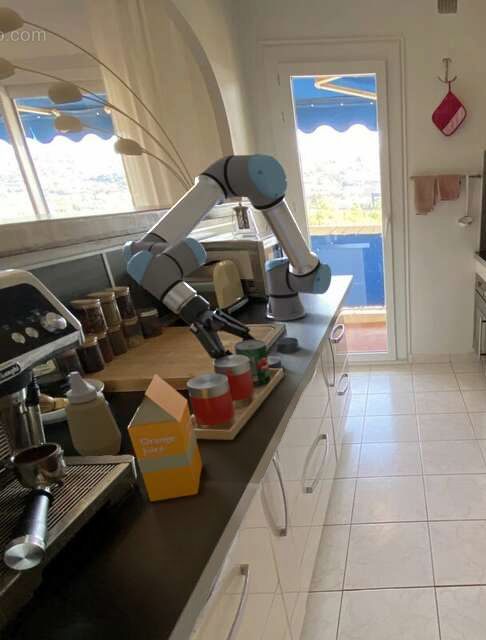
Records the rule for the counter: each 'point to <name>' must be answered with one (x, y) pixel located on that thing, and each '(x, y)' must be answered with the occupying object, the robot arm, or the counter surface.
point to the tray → (241, 411)
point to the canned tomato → (255, 360)
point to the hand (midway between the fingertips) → (255, 361)
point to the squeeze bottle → (90, 420)
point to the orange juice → (165, 443)
